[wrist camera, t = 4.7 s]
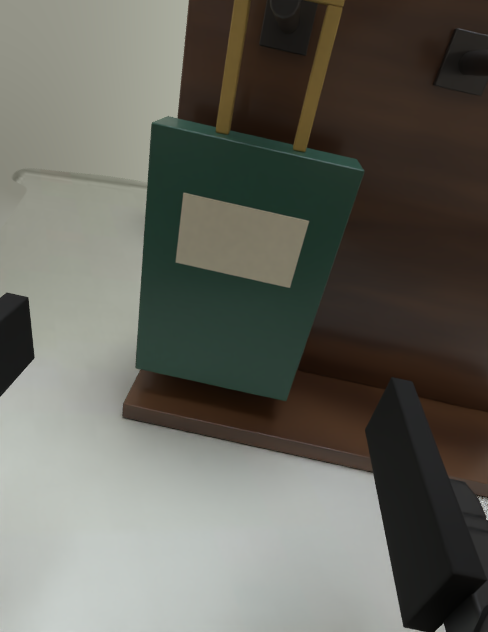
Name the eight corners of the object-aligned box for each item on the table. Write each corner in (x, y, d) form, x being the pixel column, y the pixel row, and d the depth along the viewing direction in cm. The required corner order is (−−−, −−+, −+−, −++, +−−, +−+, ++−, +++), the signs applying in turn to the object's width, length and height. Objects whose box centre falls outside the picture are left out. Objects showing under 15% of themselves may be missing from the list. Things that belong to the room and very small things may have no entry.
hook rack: (563, 527, 25) (1123, 8, 11) (116, 429, 25) (141, -225, 11) (493, 406, 34) (760, 33, 20) (163, 333, 34) (209, -95, 20)
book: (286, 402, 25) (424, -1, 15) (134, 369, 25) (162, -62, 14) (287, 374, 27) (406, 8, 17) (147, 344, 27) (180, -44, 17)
